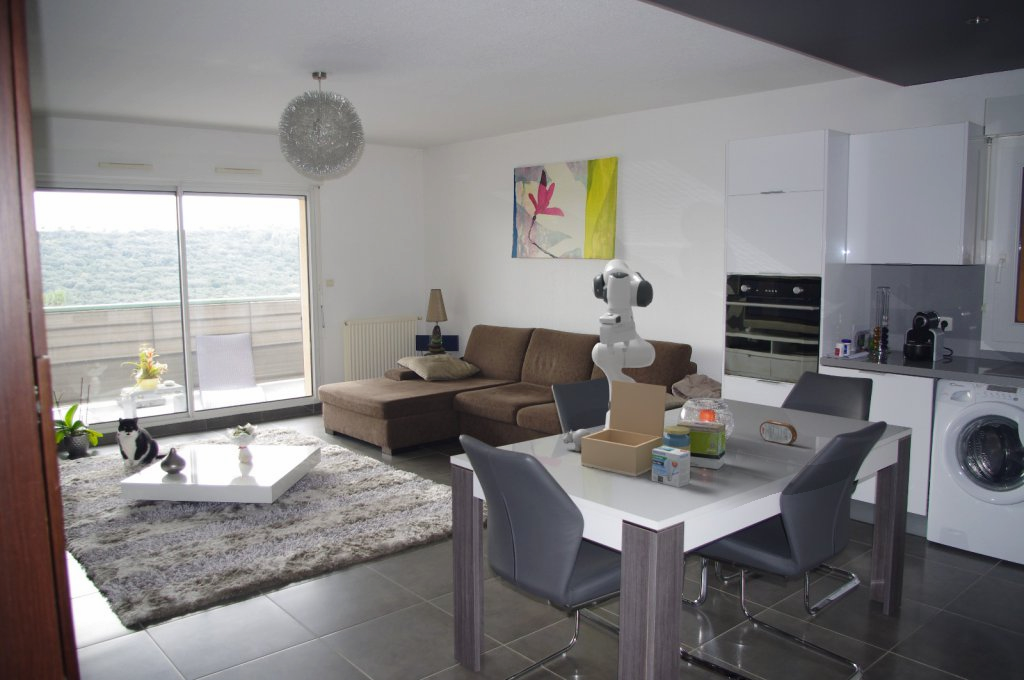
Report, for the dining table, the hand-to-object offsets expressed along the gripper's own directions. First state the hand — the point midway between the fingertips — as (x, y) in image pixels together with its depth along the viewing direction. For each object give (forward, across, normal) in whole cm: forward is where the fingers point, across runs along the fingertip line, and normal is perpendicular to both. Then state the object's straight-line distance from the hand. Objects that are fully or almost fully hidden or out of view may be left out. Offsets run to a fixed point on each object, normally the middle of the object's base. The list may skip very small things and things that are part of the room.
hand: (618, 354), depth 272 cm
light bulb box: (+37, +21, +32) cm, 54 cm away
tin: (+38, -52, +42) cm, 77 cm away
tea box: (+38, -5, +31) cm, 49 cm away
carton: (+37, +13, +10) cm, 41 cm away
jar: (+38, +8, +28) cm, 48 cm away
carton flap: (+18, +3, +10) cm, 21 cm away
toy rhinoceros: (+38, +6, -14) cm, 41 cm away
